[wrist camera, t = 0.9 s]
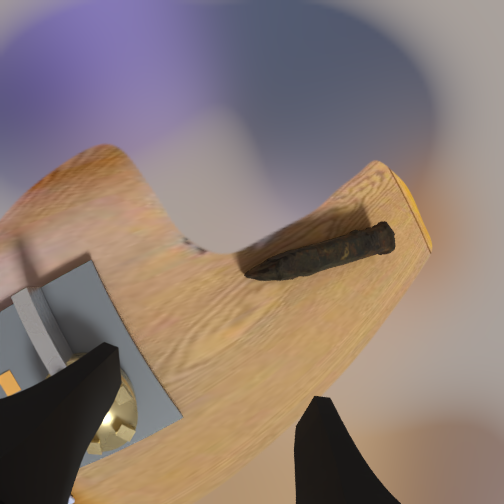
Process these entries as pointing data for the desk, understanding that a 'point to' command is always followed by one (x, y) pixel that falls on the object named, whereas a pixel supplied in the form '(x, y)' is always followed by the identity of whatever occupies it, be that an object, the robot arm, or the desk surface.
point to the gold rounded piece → (60, 356)
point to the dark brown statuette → (326, 254)
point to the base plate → (84, 348)
